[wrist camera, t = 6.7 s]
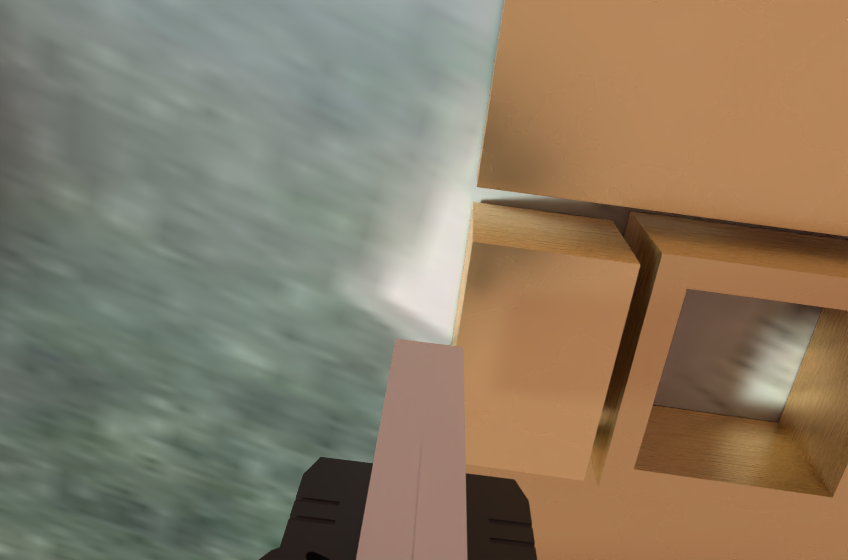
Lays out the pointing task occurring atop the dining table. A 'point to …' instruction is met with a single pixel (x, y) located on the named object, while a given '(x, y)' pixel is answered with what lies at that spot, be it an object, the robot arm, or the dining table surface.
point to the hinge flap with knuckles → (628, 186)
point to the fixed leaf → (710, 418)
